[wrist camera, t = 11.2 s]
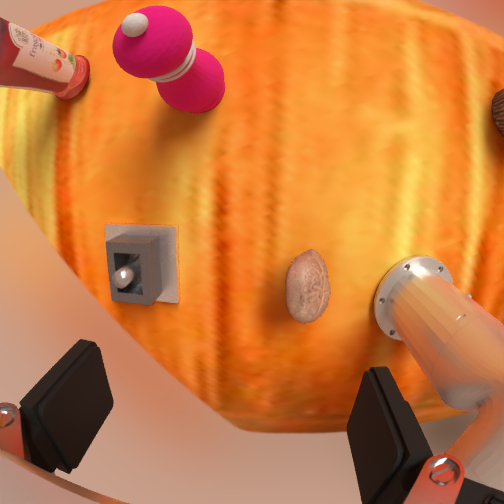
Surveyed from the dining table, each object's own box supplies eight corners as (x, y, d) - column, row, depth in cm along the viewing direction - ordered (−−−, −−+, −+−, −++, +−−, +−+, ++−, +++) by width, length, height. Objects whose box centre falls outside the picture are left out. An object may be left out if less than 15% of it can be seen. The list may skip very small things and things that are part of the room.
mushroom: (290, 237, 37) (294, 255, 29) (337, 249, 37) (353, 270, 29) (273, 293, 39) (273, 323, 31) (319, 304, 39) (328, 335, 31)
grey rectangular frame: (120, 234, 37) (105, 241, 33) (159, 236, 36) (147, 243, 33) (125, 288, 39) (112, 300, 35) (162, 292, 38) (151, 305, 35)
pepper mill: (189, 128, 34) (105, 92, 15) (161, 84, 33) (69, 26, 13) (240, 96, 33) (206, 21, 13) (210, 52, 31) (155, -38, 12)
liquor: (101, 83, 33) (-67, 29, 6) (63, 112, 34) (-103, 96, 7) (89, 47, 31) (-56, -18, 4) (52, 75, 32) (-95, 43, 5)
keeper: (178, 225, 37) (158, 238, 30) (180, 299, 40) (163, 325, 33) (109, 222, 38) (80, 234, 31) (114, 292, 40) (90, 313, 33)
